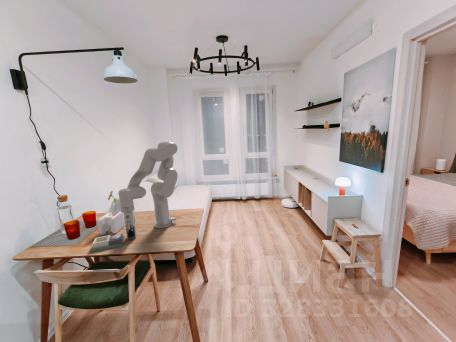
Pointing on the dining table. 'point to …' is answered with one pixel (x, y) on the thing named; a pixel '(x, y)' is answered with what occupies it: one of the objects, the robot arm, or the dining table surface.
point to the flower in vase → (115, 204)
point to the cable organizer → (111, 223)
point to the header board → (107, 242)
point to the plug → (133, 231)
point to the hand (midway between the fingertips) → (131, 234)
